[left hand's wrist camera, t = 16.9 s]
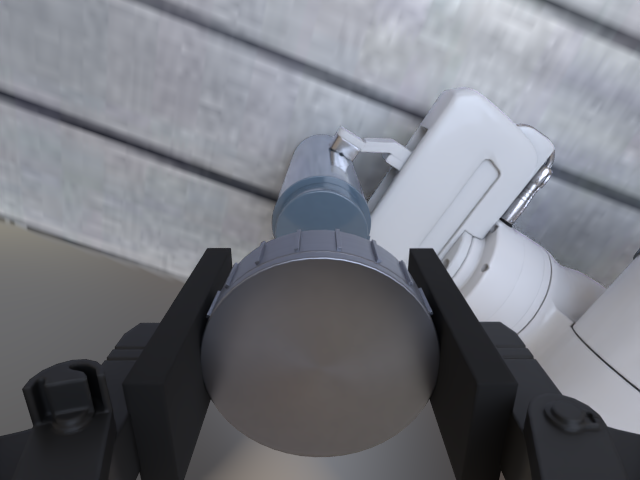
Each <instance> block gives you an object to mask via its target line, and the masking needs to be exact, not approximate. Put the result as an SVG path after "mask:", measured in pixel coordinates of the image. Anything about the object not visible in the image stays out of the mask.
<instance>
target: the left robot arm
mask: <svg viewBox="0 0 640 480" xmlns="http://www.w3.org/2000/svg"><path fill="white" fill-rule="evenodd" d="M231 270H232V257H231V248H207V250H206V251H205V253H204V254H203V256H202V258H201V259H200V261H199V262H198V264H197V266H196V267H195V269H194V270H193V272H192V273H191V275H190V277H189V278H188V280H187V281H186V283H185V285H184V286H183V288H182V289H181V291H180V292H179V294H178V296H177V297H176V299H175V300H174V302H173V304H172V305H171V307H170V308H169V310H168V312H167V313H166V315H165V316H164V318H163V319H162V321H161V323H140V324H138V325H137V326H135V327H134V328H132V329H131V330H130V331H128V332H127V333H125V334H124V335H123V337H122V338H121V339H120V341H119V342H118V343H117V345H116V346H115V349H114V350H112V351H111V353H110V354H109V356H108V357H107V360H105V361H104V362H103V364H102V365H100V364H99V363H98V362H96V361H92V360H87V359H81V360H70V361H66V362H63V363H59V364H56V365H53V366H51V367H49V368H47V369H45V370H42V371H41V372H39V373H38V374H37V375H35V376H34V377H33V378H31V379H30V380H29V381H28V382H27V384H26V385H25V386H24V388H23V389H22V390H23V393H24V397H25V400H26V403H27V407H28V410H29V413H30V416H31V420H32V423H33V428H32V429H28V430H25V431H21V432H17V433H12V434H8V435H4V436H0V480H136V478H137V476H138V474H139V472H140V476H141V480H184V478H185V475H186V472H187V469H188V466H189V463H190V460H191V457H192V454H193V451H194V448H195V445H196V442H197V439H198V436H199V433H200V430H201V427H202V424H203V421H204V418H205V415H206V412H207V409H208V406H209V403H210V400H211V398H210V396H209V394H208V392H207V390H206V387H205V384H204V381H203V375H202V367H201V358H200V346H201V340H202V335H203V332H204V329H205V326H206V323H207V321H208V318H206V315H207V313H208V311H209V309H210V307H211V304H212V302H213V300H214V298H215V296H216V294H217V292H218V291H221V290H222V288H223V286H224V284H225V282H226V280H227V278H228V277H229V274H230V272H231ZM408 272H409V273H410V274H411V276H412V278H413V280H414V281H415V283H416V285H417V287H418V288H422V290H423V292H424V295H425V297H426V299H427V301H428V303H429V305H430V308H431V310H432V312H433V315H431V318H432V321H433V323H434V326H435V328H436V331H437V334H438V339H439V343H440V362H439V371H438V378H437V382H436V385H435V388H434V390H433V393H432V395H431V397H430V402H431V405H432V408H433V411H434V414H435V417H436V420H437V423H438V426H439V429H440V432H441V435H442V438H443V441H444V444H445V447H446V450H447V453H448V456H449V459H450V462H451V465H452V468H453V471H454V474H455V477H456V480H499V477H500V472H501V471H502V473H503V475H504V478H505V480H640V434H636V433H632V432H627V431H623V430H618V429H615V428H612V427H608V426H607V425H606V423H605V422H604V420H603V419H602V417H601V416H600V415H599V414H598V413H597V412H596V411H594V410H593V409H592V408H591V407H589V406H588V405H586V404H584V403H582V402H580V401H579V400H577V399H575V398H572V397H568V396H565V395H562V393H561V392H560V391H559V389H558V388H557V387H556V385H555V384H554V383H553V381H552V380H551V379H550V377H549V376H548V375H547V373H546V372H545V371H544V369H543V368H542V367H541V365H540V364H539V363H538V361H537V360H536V359H534V356H533V355H532V353H531V352H530V351H529V349H528V348H526V345H525V344H524V343H523V341H522V340H521V338H520V337H519V336H518V334H517V333H516V332H514V331H513V330H512V329H510V328H509V327H507V326H506V325H504V324H503V323H501V322H479V320H478V319H477V317H476V316H475V314H474V313H473V311H472V309H471V308H470V306H469V305H468V303H467V301H466V300H465V298H464V297H463V295H462V294H461V292H460V290H459V289H458V287H457V286H456V284H455V282H454V281H453V279H452V278H451V276H450V275H449V273H448V271H447V270H446V268H445V267H444V265H443V263H442V262H441V260H440V259H439V257H438V256H437V254H436V252H435V251H434V249H433V248H409V260H408Z"/></svg>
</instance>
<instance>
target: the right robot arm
mask: <svg viewBox="0 0 640 480" xmlns="http://www.w3.org/2000/svg"><path fill="white" fill-rule="evenodd" d="M329 145H330V146H329V147H330V148H331V149H333V150H334V151H336V152H338V153H343V156H344V157H345V158H347V159H348V160H350V161H352V162H353V160H354V159H355V157H356V156H357V154H358V153H359V151H360V152H372V153H382V157H383V158H384V160H385V161H386V162H387V163H388V164H390V165H391V166H392V167H391V168H390V170H389V171H388V173H387V174H386V176H385V177H384V179H383V180H382V182H381V183H380V184H379V186H378V187H377V189H376V190H375V192H374V193H373V195H372V196H371V198H370V199H369V201H368V202H367V204H368V207H369V210H370V214H371V230H370V235H369V236H370V241H371V240H372V239H373V240H375V241H376V243H377V245H379V246H381V247H382V248H384V249H385V250H387V251H388V252H389V253H391V254H392V255H393V256H394V257H395V258H396V259H398V260H399V261H401V260H403V261H404V263H405V265H406V267H407V270H408V260H409V248H433V249H434V251H435V252H436V254H437V256H438V257H439V259H440V260H441V262H442V263H443V265H444V267H445V268H446V270H447V271H448V273H449V275H450V276H451V278H452V279H453V281H454V282H455V284H456V286H457V287H458V289H459V290H460V292H461V294H462V295H463V297H464V298H465V300H466V301H467V303H468V305H469V306H470V308H471V309H472V311H473V313H474V314H475V316H476V317H477V319H478V320H479V322H501V323H503V324H504V325H506V326H507V327H509V328H510V329H512V330H513V331H514V332H516V333H517V334H518V336H519V337H520V338H521V340H522V341H523V343H524V344H525V345H526V348H528V349H529V351H530V352H531V353H532V355H533V356H534V359H536V360H537V361H538V363H539V364H540V365H541V367H542V368H543V369H544V371H545V372H546V373H547V375H548V376H549V377H550V379H551V380H552V381H553V383H554V384H555V385H556V387H557V388H558V389H559V391H560V392H561V393H562V395H565V396H568V397H572V398H575V399H577V400H579V401H580V402H582V403H584V404H586V405H588V406H589V407H591V408H592V409H593V410H594V411H596V412H597V413H598V414H599V415H600V416H601V417H602V419H603V420H604V422H605V423H606V425H607V426H608V427H612V428H615V429H618V430H623V431H627V432H632V433H636V434H640V249H639V250H638V251H637V252H636V254H635V255H634V257H633V261H632V262H631V263H630V265H629V266H628V267H627V268H626V269H625V270H624V271H623V272H622V273H621V274H620V275H619V276H618V277H617V279H616V280H615V281H614V282H613V283H612V284H611V285H610V286H609V287H608V288H607V289H606V288H605V287H604V286H602V285H601V284H599V283H598V282H596V281H595V280H593V279H592V278H590V277H589V276H587V275H585V274H584V273H582V272H580V271H577V270H574V269H571V268H566V267H563V266H561V265H560V264H559V263H558V262H557V261H556V260H555V259H554V257H553V256H552V255H551V254H550V253H549V252H548V251H547V250H546V249H545V248H544V247H542V246H541V245H539V244H537V243H536V242H534V241H533V240H531V239H530V238H528V237H527V236H525V235H524V234H522V233H520V232H519V231H517V230H516V229H514V228H513V227H512V225H513V223H514V222H515V221H516V220H517V219H518V217H519V216H520V215H521V214H522V212H523V211H524V210H525V209H526V207H527V206H528V203H530V200H532V198H533V196H534V195H535V193H537V191H538V190H539V189H540V188H542V187H543V186H544V185H545V184H546V183H547V182H548V180H549V179H550V177H551V175H552V173H553V171H552V170H551V169H550V168H551V167H552V164H553V162H554V158H555V150H554V145H553V144H552V142H551V141H550V139H549V138H548V137H546V136H545V135H543V134H542V133H541V132H539V131H538V130H536V129H535V128H534V127H532V126H530V125H526V124H515V123H514V122H513V121H512V120H511V119H510V118H509V117H508V116H507V115H506V114H505V113H504V112H503V111H501V110H500V109H499V108H498V107H497V106H496V105H495V104H493V103H492V102H491V101H490V100H488V99H487V98H486V97H485V96H483V95H482V94H481V93H479V92H478V91H476V90H474V89H471V88H467V87H459V88H453V89H448V90H445V91H443V92H442V93H441V95H440V96H439V97H438V99H437V100H436V102H435V103H434V105H433V106H432V108H431V109H430V111H429V112H428V114H427V115H426V117H425V118H424V120H423V121H422V123H421V124H420V125H419V127H418V128H417V130H416V131H415V133H414V134H413V136H412V137H411V139H410V140H409V142H408V143H407V145H406V146H405V147H404V146H403V145H401V144H400V143H398V142H397V141H395V140H394V139H392V138H363V139H361V138H360V137H358V136H357V135H355V134H354V133H352V132H350V131H349V130H347V129H346V128H344V127H342V126H340V127H339V129H338V131H337V132H336V134H335V136H334V137H333V139H332V141H331V142H330V144H329ZM546 160H547V162H546V164H545V166H544V165H543V164H544V163H545V161H546Z"/></svg>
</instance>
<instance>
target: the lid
mask: <svg viewBox="0 0 640 480" xmlns="http://www.w3.org/2000/svg"><path fill="white" fill-rule="evenodd" d="M431 315H433V312H432V310H431V308H430V305H429V303H428V301H427V299H426V297H425V295H424V292H423V290H422V288H418V287H417V285H416V283H415V281H414V280H413V278H412V276H411V274H410V273H409V272H408V270H407V267H406V265H405V263H404V261H403V260H401V261H399V260H398V259H396V258H395V257H394V256H393V255H392V254H391V253H389V252H388V251H387V250H385V249H384V248H382V247H381V246H379V245H377V243H376V241H375V240H373V239H372V240H371V241H370V240H367V239H365V238H362V237H359V236H357V235H354V234H349V233H345V232H341V231H340V229H335V231H332V230H308V231H301V229H299V230H297V232H295V233H291V234H287V235H284V236H281V237H278V238H276V239H273V240H271V241H269V242H267V243H266V242H265V241H263V242H262V243H261V245H260V247H258V248H256V249H255V250H254V251H252V252H251V253H250V254H248V255H247V256H246V257H245V258H244V259H243V260H242V261H241V262H240V263H239V264H237V263H235V264H234V265H233V268H232V270H231V272H230V274H229V277H228V278H227V280H226V282H225V284H224V286H223V288H222V290H221V291H218V292H217V294H216V296H215V298H214V300H213V302H212V304H211V307H210V309H209V311H208V313H207V315H206V318H208V321H207V323H206V326H205V329H204V332H203V335H202V340H201V346H200V358H201V367H202V375H203V381H204V384H205V387H206V390H207V392H208V394H209V396H210V398H211V400H212V401H213V403H214V404H215V406H216V407H217V409H218V410H219V412H220V413H221V414H222V415H223V416H224V417H225V419H226V420H227V421H228V422H229V423H230V424H232V425H233V426H234V427H235V428H236V429H237V430H239V431H240V432H242V433H243V434H244V435H246V436H247V437H249V438H251V439H252V440H254V441H256V442H258V443H260V444H262V445H264V446H267V447H269V448H272V449H274V450H278V451H281V452H285V453H289V454H294V455H299V456H309V457H333V456H341V455H347V454H351V453H356V452H360V451H363V450H366V449H369V448H372V447H374V446H376V445H378V444H381V443H383V442H385V441H386V440H388V439H390V438H392V437H393V436H395V435H396V434H398V433H399V432H400V431H402V430H403V429H404V428H406V427H407V426H408V425H409V424H410V423H411V422H412V421H413V420H414V419H415V418H416V417H417V416H418V415H419V413H420V412H421V411H422V410H423V408H424V407H425V405H426V404H427V402H428V400H429V399H430V397H431V395H432V393H433V390H434V388H435V385H436V382H437V378H438V371H439V362H440V343H439V339H438V334H437V331H436V328H435V326H434V323H433V321H432V318H431Z"/></svg>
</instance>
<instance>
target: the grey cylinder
mask: <svg viewBox="0 0 640 480" xmlns="http://www.w3.org/2000/svg"><path fill="white" fill-rule="evenodd" d="M332 139H333V137H332V136H329V135H314V136H311V137H308V138H306V139H305V140H303V141H302V142H301V143H300V144H299V145H298V146H297V148H296V149H295V151H294V154H293V156H292V159H291V162H290V165H289V168H288V171H287V173H286V176H285V179H284V182H283V185H282V188H281V191H280V193H279V196H278V199H277V202H276V205H275V208H274V210H273V215H272V230H273V235H274V238H275V239H276V238H278V237H281V236H284V235H287V234H291V233H295V232H297V230H299V229H301V231H308V230H332V231H335V229H340V231H341V232H345V233H349V234H354V235H357V236H359V237H362V238H365V239H367V240H370V236H369V235H370V230H371V214H370V210H369V207H368V204H367V202H366V199H365V196H364V193H363V191H362V188H361V185H360V182H359V179H358V177H357V174H356V171H355V168H354V166H353V163H352V161H350V160H348V159H347V158H345V157H344V156H343V153H338V152H336V151H334V150H333V149H331V148H330V147H329V146H330V145H329V144H330V142H331V141H332Z"/></svg>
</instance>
